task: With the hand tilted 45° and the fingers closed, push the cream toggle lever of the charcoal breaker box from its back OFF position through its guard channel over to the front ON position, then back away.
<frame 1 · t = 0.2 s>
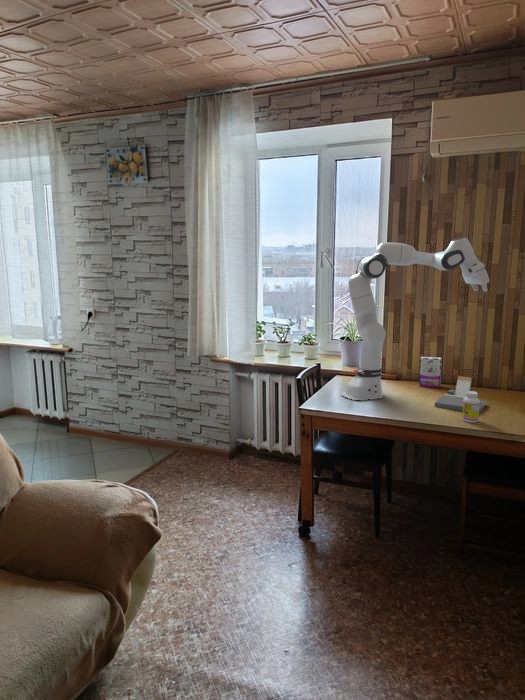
hand: (481, 291, 254), 54 cm above the table, tool tilted 30°, fingers open, 8 cm apart
candy bar box: (429, 386, 278), on the table
breaker lever: (462, 388, 241), point 8 cm above the table, hinge at 30.0°
breaker housing: (460, 405, 241), on the table
supplement bottle: (470, 421, 219), on the table
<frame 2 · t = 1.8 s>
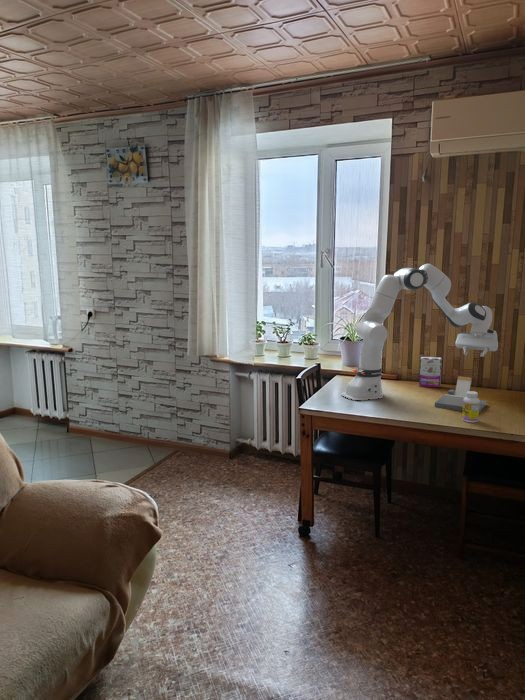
hand: (473, 355, 254), 21 cm above the table, tool tilted 45°, fingers open, 7 cm apart
nothing on the table moved.
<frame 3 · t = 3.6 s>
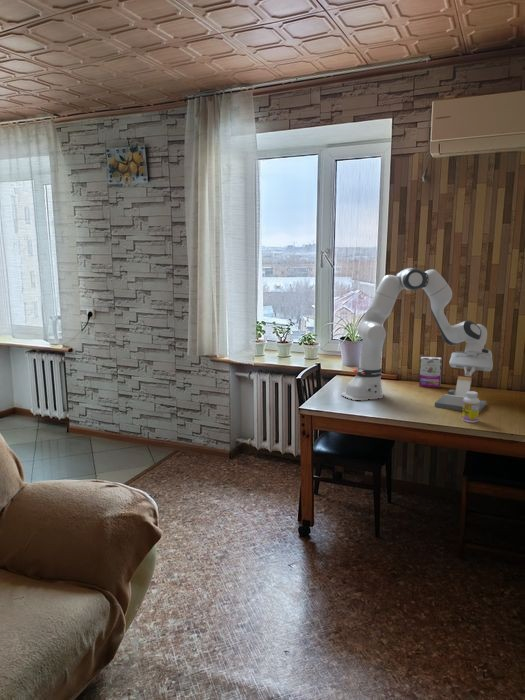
hand: (467, 375, 248), 13 cm above the table, tool tilted 45°, fingers closed
nothing on the table moved.
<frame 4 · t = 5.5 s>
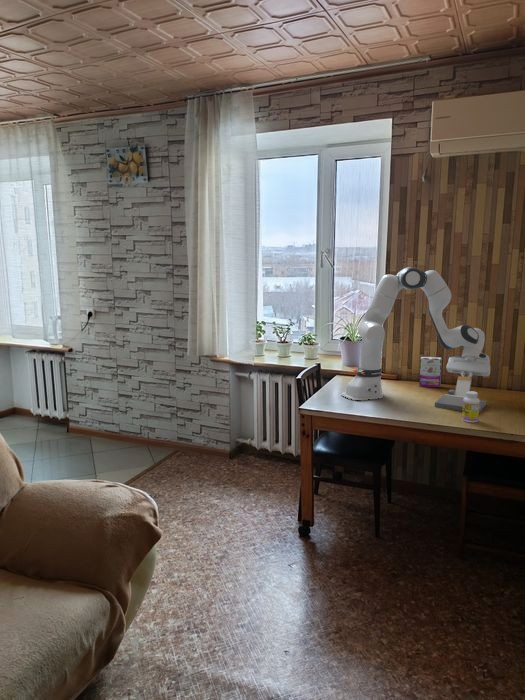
hand: (465, 380, 244), 11 cm above the table, tool tilted 45°, fingers closed, pressing on breaker lever
breaker lever: (462, 388, 241), point 8 cm above the table, hinge at 29.9°, touching gripper
everything else where it was.
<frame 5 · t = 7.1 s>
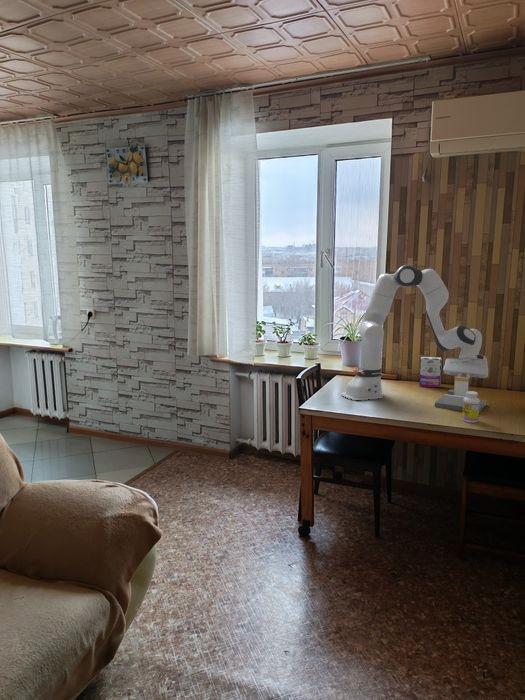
hand: (462, 382, 239), 12 cm above the table, tool tilted 45°, fingers closed, pressing on breaker lever
breaker lever: (461, 389, 239), point 9 cm above the table, hinge at -7.1°, touching gripper
everything else where it was.
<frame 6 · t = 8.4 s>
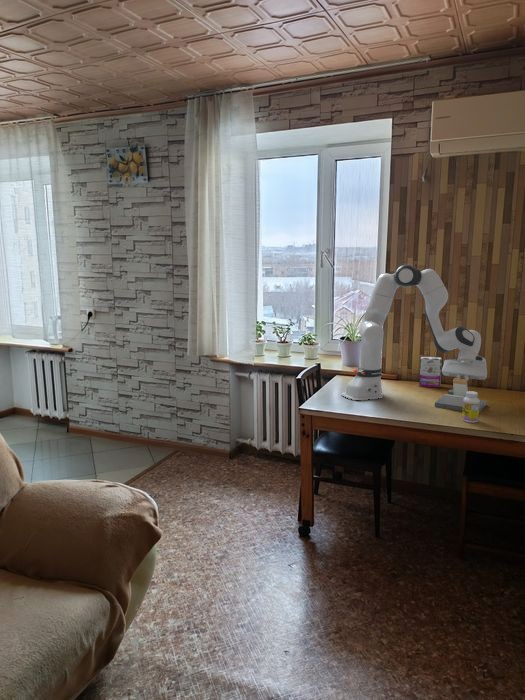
hand: (461, 384, 237), 11 cm above the table, tool tilted 45°, fingers closed, pressing on breaker lever
breaker lever: (460, 390, 238), point 8 cm above the table, hinge at -21.8°, touching gripper
everything else where it was.
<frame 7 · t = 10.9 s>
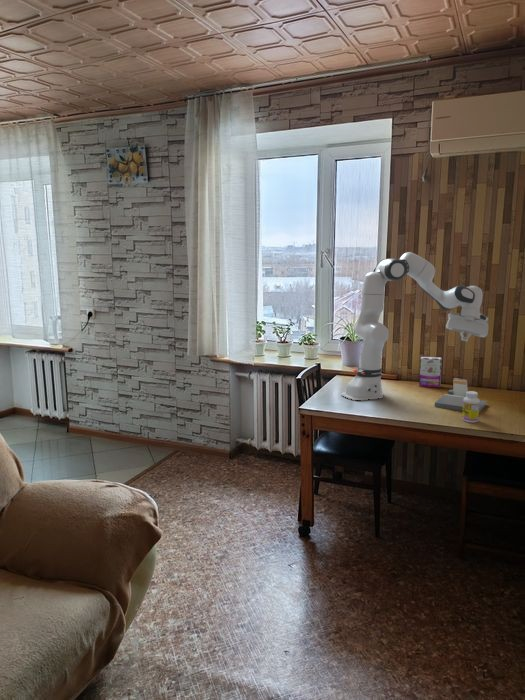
hand: (464, 340, 254), 29 cm above the table, tool tilted 30°, fingers closed
breaker lever: (460, 390, 238), point 8 cm above the table, hinge at -22.0°
everything else where it was.
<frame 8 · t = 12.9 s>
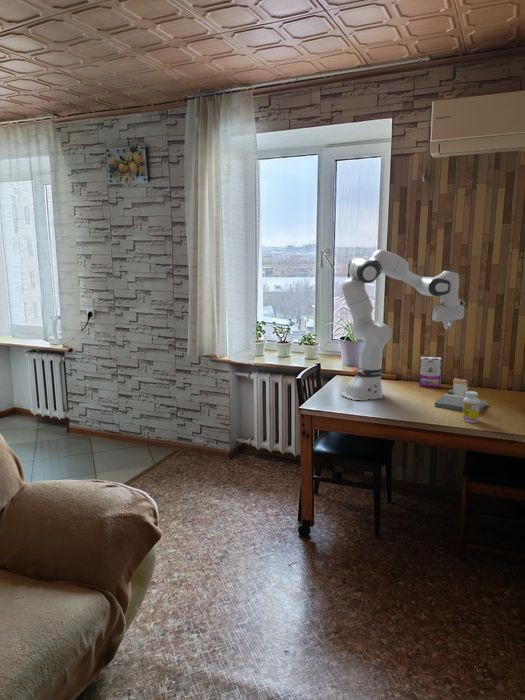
hand: (447, 329, 259), 34 cm above the table, tool pointing down, fingers closed
nothing on the table moved.
at the end: breaker lever at -22° (first picture: +30°) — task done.
